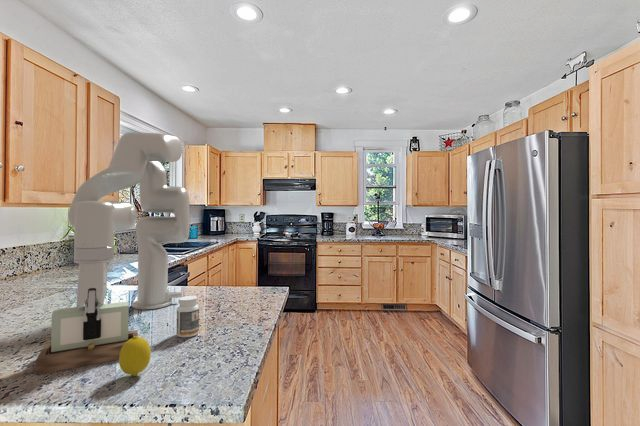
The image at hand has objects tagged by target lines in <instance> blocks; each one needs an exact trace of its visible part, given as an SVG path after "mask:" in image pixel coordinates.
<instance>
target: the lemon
mask: <svg viewBox="0 0 640 426" xmlns="http://www.w3.org/2000/svg"><path fill="white" fill-rule="evenodd" d="M151 354H152V350H151V346H150V344H149V341H147V340H146V339H145V338H143V337H141V336H139V335H138V336H134V337H133V338H131V339H129V340H128V341H127V342H126V343H125V344H124V345H123V346H122V348H121V351H120V355H119V359H118V363H119V367H120V369H121V370H122V372H123V373H124V374H127V375H130V376H132V377H137V376H138V375H139V374H140V373H142V372H143V371H144V370H145V369H146V368H148V365H149V364H150V361H151V357H152V355H151Z"/></svg>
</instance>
